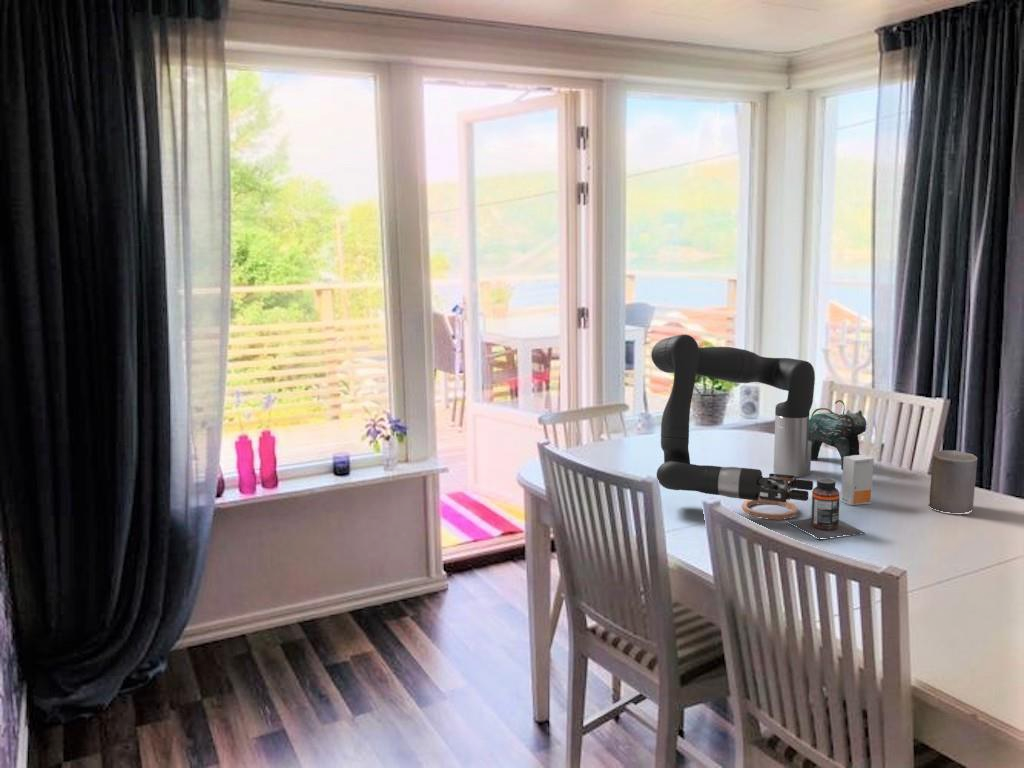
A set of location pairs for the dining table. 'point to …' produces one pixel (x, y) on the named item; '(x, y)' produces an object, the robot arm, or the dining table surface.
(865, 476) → the skincare box
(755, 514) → the wooden ring
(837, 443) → the ceramic cat
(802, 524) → the mat
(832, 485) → the supplement bottle
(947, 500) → the pillar candle
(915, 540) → the dining table surface
